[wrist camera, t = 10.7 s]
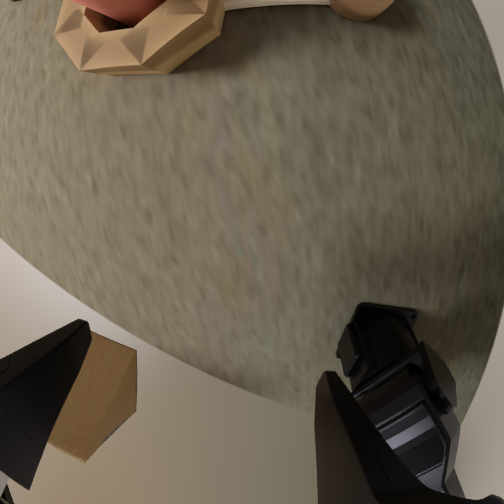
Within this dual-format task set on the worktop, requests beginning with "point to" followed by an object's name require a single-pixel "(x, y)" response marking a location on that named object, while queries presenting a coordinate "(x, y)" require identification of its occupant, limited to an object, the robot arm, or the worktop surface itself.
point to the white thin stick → (268, 3)
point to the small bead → (359, 8)
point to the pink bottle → (123, 9)
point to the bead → (138, 37)
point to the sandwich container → (97, 399)
